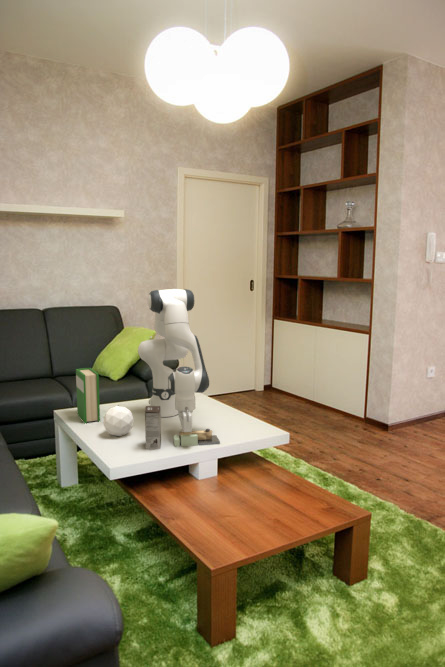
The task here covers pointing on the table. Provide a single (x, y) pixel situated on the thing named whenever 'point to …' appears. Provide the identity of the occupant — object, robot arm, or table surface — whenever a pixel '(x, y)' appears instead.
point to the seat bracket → (185, 440)
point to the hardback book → (88, 394)
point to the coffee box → (153, 427)
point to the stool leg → (199, 434)
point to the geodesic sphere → (118, 420)
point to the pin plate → (209, 441)
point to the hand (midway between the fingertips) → (185, 435)
